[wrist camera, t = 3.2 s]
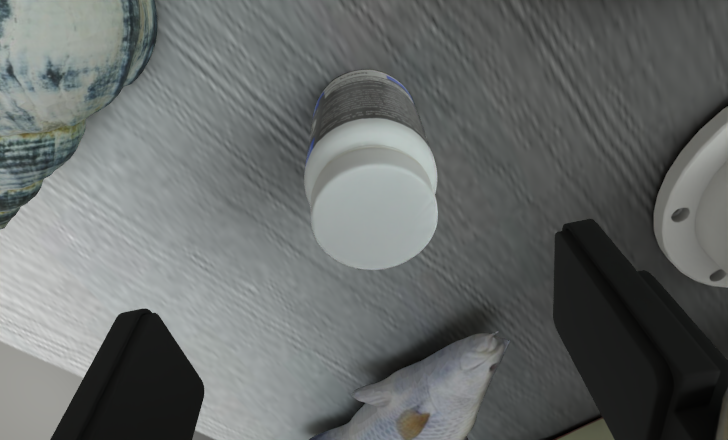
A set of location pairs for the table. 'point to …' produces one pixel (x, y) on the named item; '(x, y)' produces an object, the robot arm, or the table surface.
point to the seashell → (61, 80)
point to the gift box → (589, 432)
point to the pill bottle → (370, 173)
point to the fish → (427, 395)
